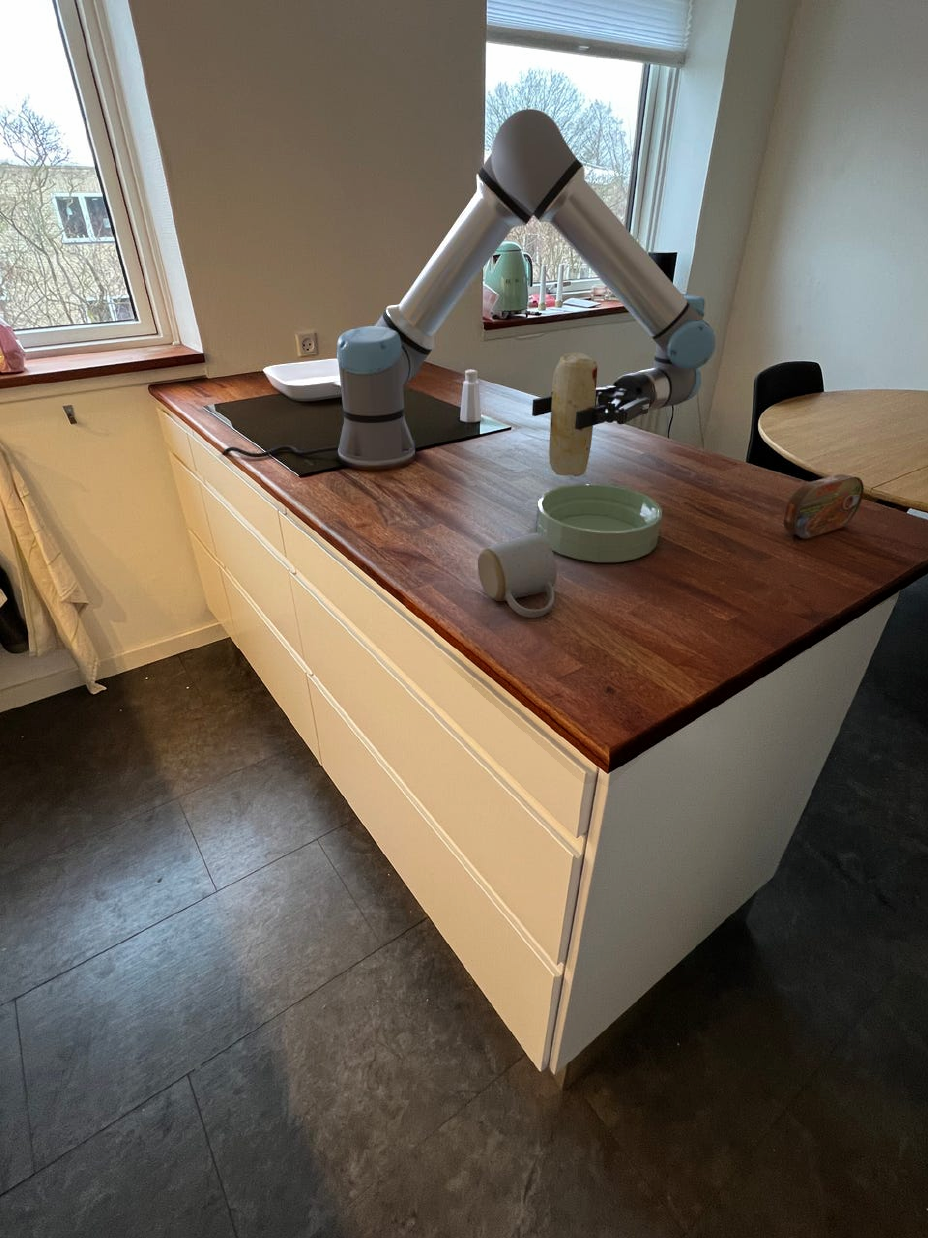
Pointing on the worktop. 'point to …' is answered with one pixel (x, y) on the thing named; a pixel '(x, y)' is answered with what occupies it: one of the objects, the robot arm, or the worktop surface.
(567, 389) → the food model
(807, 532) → the tin
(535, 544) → the ceramic mug
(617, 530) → the bowl
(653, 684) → the worktop surface
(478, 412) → the pepper shaker
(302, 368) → the pan
